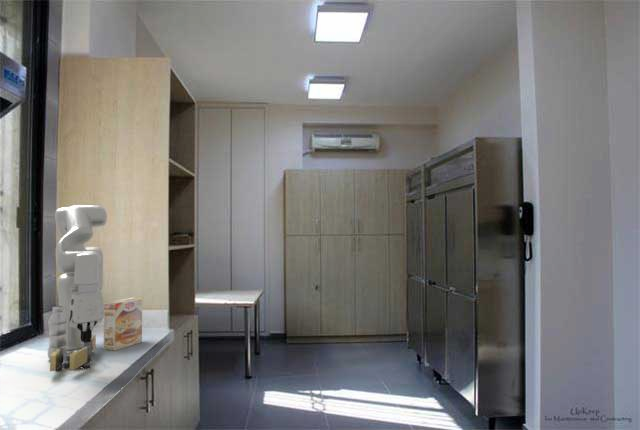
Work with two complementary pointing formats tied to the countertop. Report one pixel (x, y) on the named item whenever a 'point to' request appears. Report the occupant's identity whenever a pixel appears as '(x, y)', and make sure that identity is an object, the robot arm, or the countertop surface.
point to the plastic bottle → (57, 330)
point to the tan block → (81, 358)
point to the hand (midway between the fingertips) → (86, 341)
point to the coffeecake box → (122, 323)
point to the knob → (91, 343)
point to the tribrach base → (66, 365)
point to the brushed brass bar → (56, 360)
